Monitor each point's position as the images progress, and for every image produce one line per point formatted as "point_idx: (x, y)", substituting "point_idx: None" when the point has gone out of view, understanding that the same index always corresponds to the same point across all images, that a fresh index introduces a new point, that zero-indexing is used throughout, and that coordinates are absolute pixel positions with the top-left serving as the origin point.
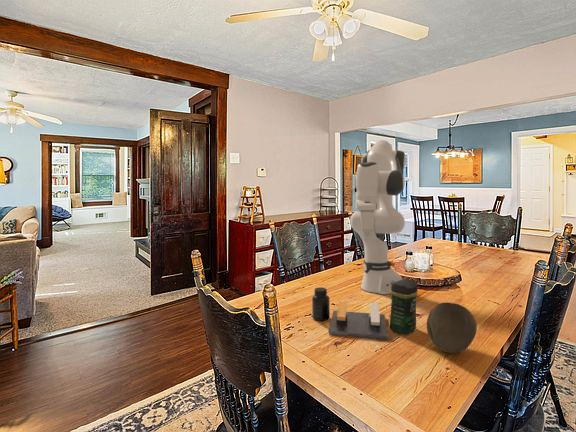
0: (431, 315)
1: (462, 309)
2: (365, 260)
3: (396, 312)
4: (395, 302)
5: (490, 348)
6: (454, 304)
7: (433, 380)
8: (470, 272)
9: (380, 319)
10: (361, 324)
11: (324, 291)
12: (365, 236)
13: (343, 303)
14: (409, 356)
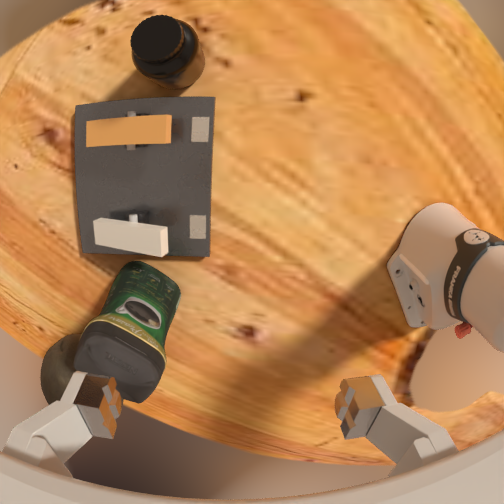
0: (58, 367)
1: None
2: (493, 248)
3: (107, 298)
4: (102, 311)
5: (127, 401)
6: None
7: (6, 300)
8: (460, 416)
9: None
10: (126, 188)
11: (137, 56)
12: (54, 413)
13: (156, 132)
14: (46, 281)
